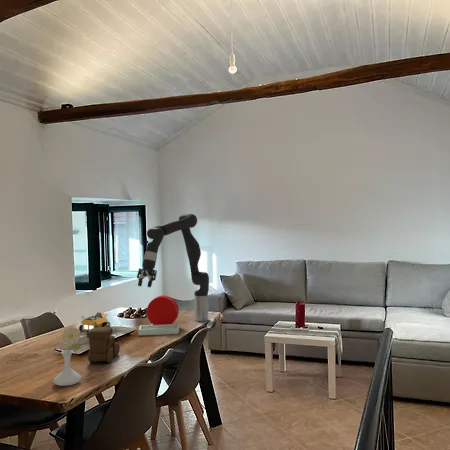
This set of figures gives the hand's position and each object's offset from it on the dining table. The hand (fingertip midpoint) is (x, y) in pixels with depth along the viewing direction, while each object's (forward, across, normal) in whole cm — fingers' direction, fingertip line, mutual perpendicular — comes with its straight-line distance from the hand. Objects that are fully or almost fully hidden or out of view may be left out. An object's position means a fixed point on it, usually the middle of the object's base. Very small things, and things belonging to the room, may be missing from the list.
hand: (144, 286), depth 261 cm
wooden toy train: (+41, -14, +27) cm, 51 cm away
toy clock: (+22, +12, -33) cm, 41 cm away
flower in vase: (+50, -29, +54) cm, 79 cm away
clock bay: (+25, +3, -22) cm, 34 cm away
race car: (+31, +41, -2) cm, 51 cm away
